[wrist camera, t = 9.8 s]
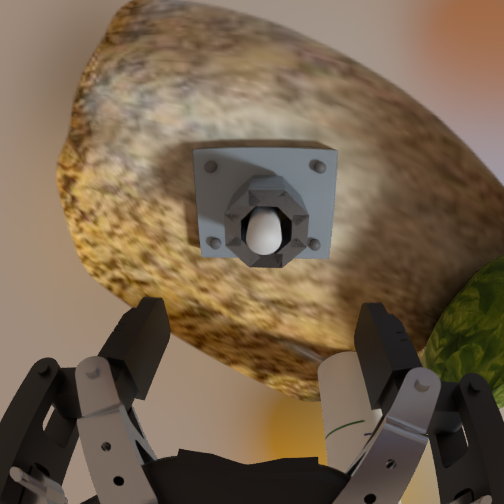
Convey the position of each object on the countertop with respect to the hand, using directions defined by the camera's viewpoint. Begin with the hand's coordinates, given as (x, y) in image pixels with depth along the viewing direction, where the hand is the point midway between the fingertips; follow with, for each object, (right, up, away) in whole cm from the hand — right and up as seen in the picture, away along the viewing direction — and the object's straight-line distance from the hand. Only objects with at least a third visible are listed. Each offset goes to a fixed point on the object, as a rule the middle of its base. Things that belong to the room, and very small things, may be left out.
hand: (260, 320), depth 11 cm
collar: (+1, +6, +12) cm, 14 cm away
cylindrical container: (+12, -13, +24) cm, 30 cm away
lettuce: (+29, -5, +19) cm, 35 cm away
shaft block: (+1, +7, +14) cm, 16 cm away
